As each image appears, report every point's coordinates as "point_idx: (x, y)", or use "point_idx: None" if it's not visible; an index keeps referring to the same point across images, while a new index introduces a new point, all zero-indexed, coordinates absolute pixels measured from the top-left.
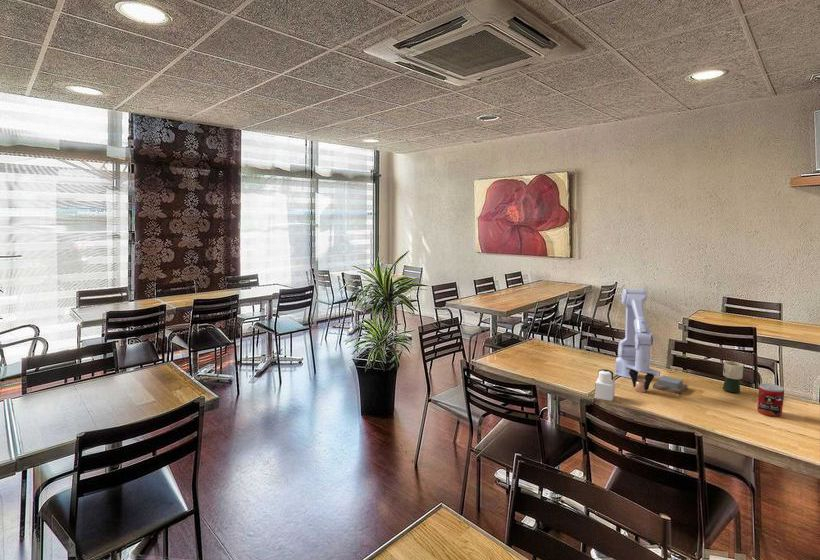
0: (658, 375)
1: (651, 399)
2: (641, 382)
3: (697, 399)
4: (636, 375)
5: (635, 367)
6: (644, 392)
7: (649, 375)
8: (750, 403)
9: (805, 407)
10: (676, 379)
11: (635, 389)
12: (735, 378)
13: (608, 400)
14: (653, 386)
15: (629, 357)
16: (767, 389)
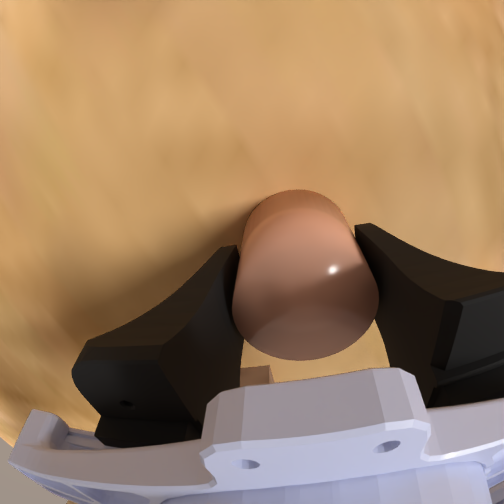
0: (25, 425)
1: (92, 121)
2: (279, 278)
3: (42, 368)
4: (401, 362)
5: (477, 483)
6: (244, 229)
7: (129, 408)
8: (16, 419)
9: (7, 440)
10: None
11: (337, 209)
12: (69, 502)
13: None
14: (264, 379)
15: (499, 499)
16: None
